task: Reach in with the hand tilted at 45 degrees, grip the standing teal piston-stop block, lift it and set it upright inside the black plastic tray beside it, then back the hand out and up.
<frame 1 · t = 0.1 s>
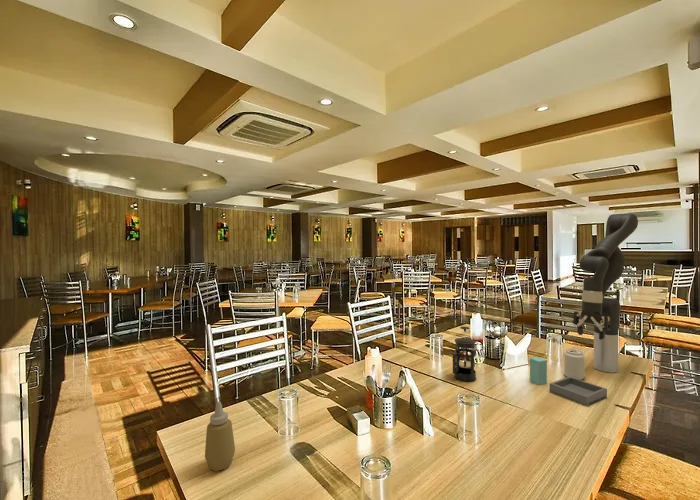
hand: (590, 337, 155), 17 cm above the table, tool pointing down, fingers open, 8 cm apart
squeeze bottle: (220, 465, 98), on the table
tray: (577, 394, 137), on the table
french press: (464, 378, 154), on the table
can: (574, 377, 153), on the table
piston stop: (538, 382, 149), on the table
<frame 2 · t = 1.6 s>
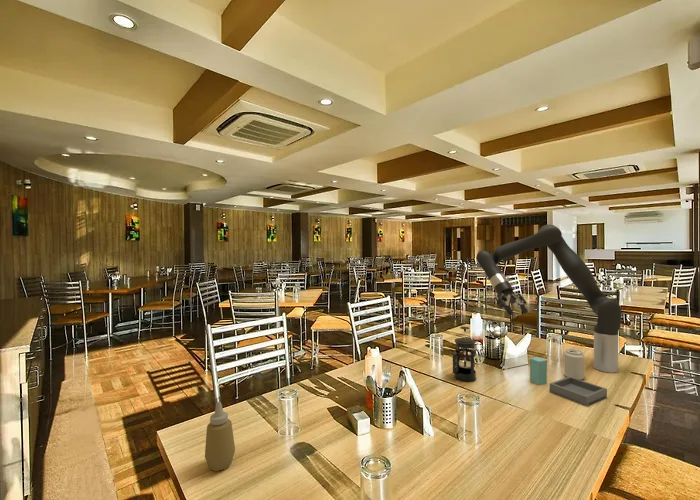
hand: (519, 313, 158), 27 cm above the table, tool tilted 45°, fingers open, 8 cm apart
nothing on the table moved.
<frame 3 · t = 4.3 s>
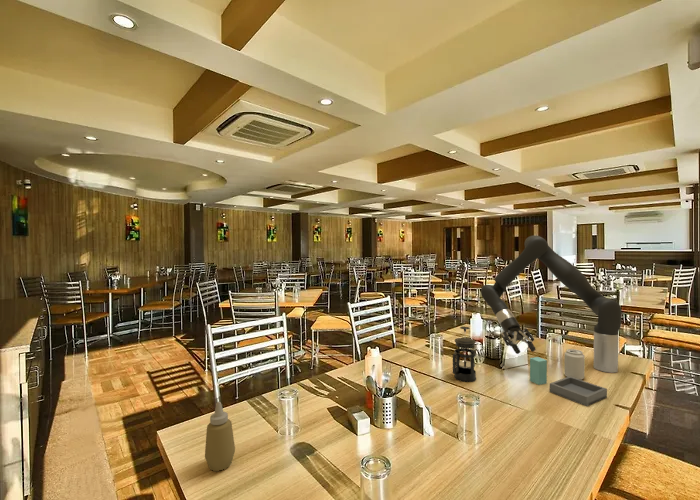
hand: (526, 351, 155), 11 cm above the table, tool tilted 45°, fingers open, 8 cm apart
nothing on the table moved.
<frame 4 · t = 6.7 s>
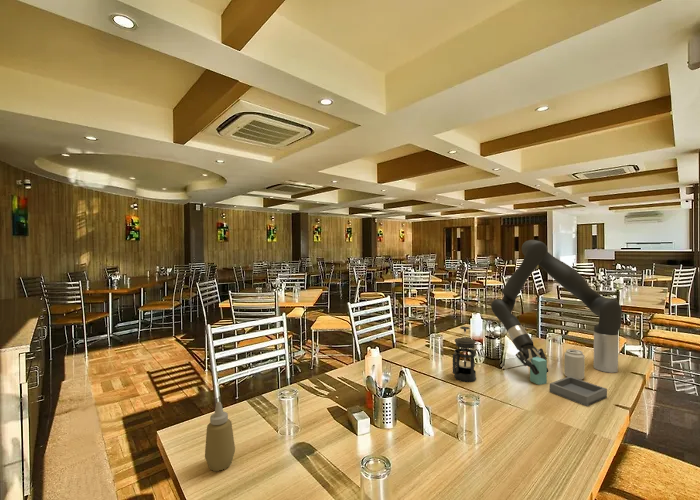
hand: (542, 373, 147), 5 cm above the table, tool tilted 45°, fingers closed on piston stop, 4 cm apart
piston stop: (538, 382, 149), on the table, touching gripper
everything else where it was.
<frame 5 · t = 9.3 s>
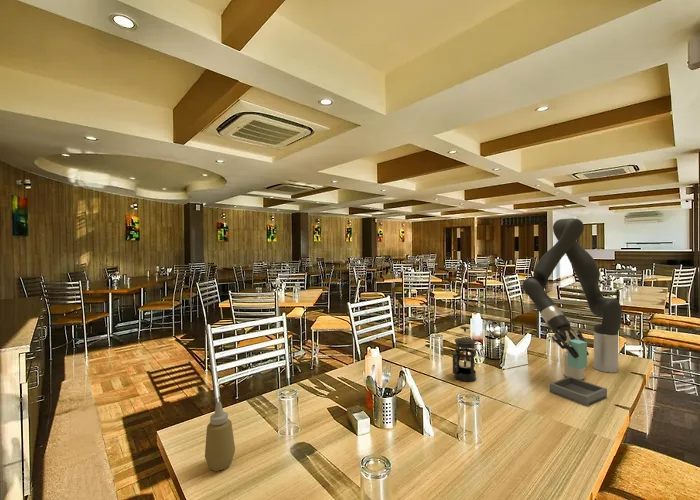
hand: (581, 356, 135), 16 cm above the table, tool tilted 45°, fingers closed on piston stop, 4 cm apart
piston stop: (577, 366, 137), point 11 cm above the table, touching gripper
everything else where it was.
when the fingers open (7 cm above the table, at t = 11.8 s): piston stop drops 1 cm, resting on tray.
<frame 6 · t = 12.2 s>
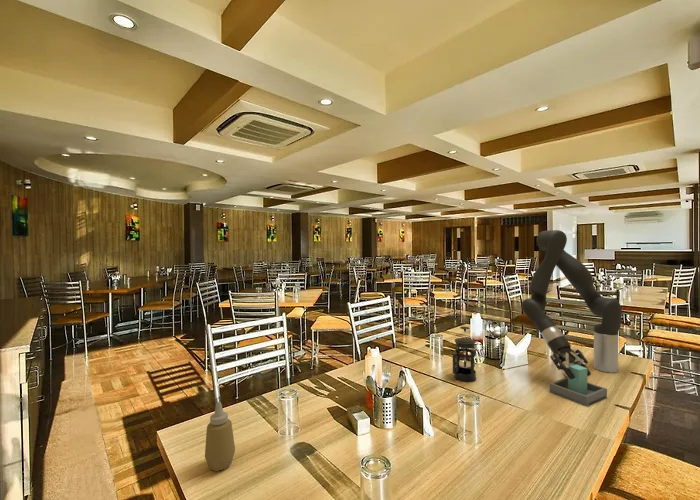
hand: (581, 377, 135), 8 cm above the table, tool tilted 45°, fingers open, 8 cm apart
piston stop: (577, 392, 137), point 1 cm above the table, touching tray
everything else where it was.
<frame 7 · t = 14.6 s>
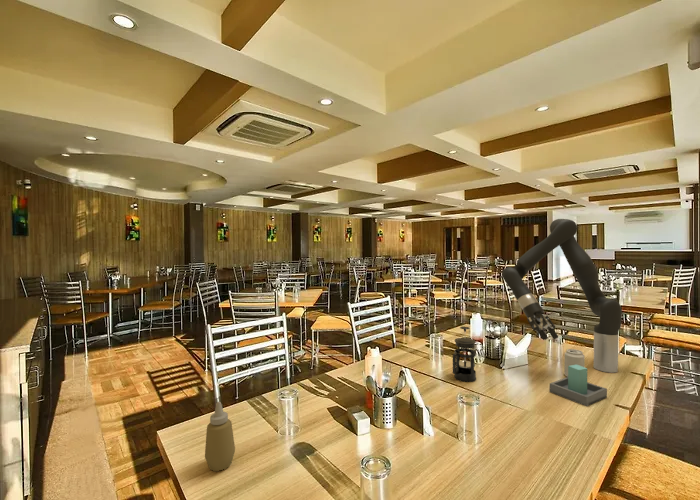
hand: (551, 338, 149), 19 cm above the table, tool tilted 40°, fingers open, 8 cm apart
nothing on the table moved.
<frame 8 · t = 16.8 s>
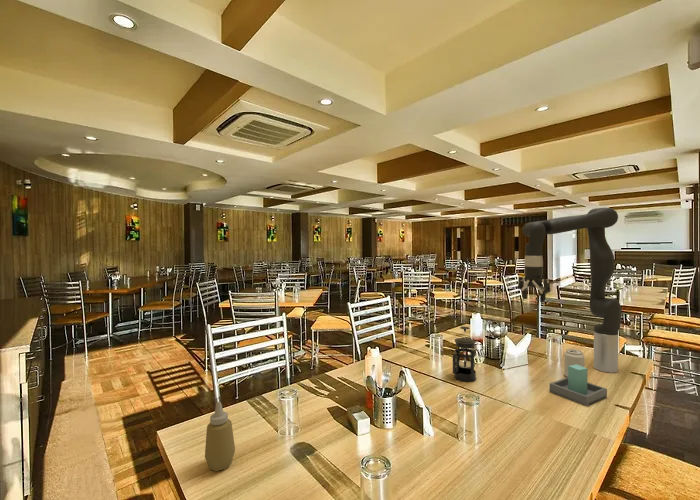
hand: (533, 300, 160), 33 cm above the table, tool pointing down, fingers open, 8 cm apart
nothing on the table moved.
at the end: piston stop inside the target area on the tray (0.1 cm from its centre), point 1.0 cm above the tray's base; piston stop tilted 0°; the gripper is holding nothing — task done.
